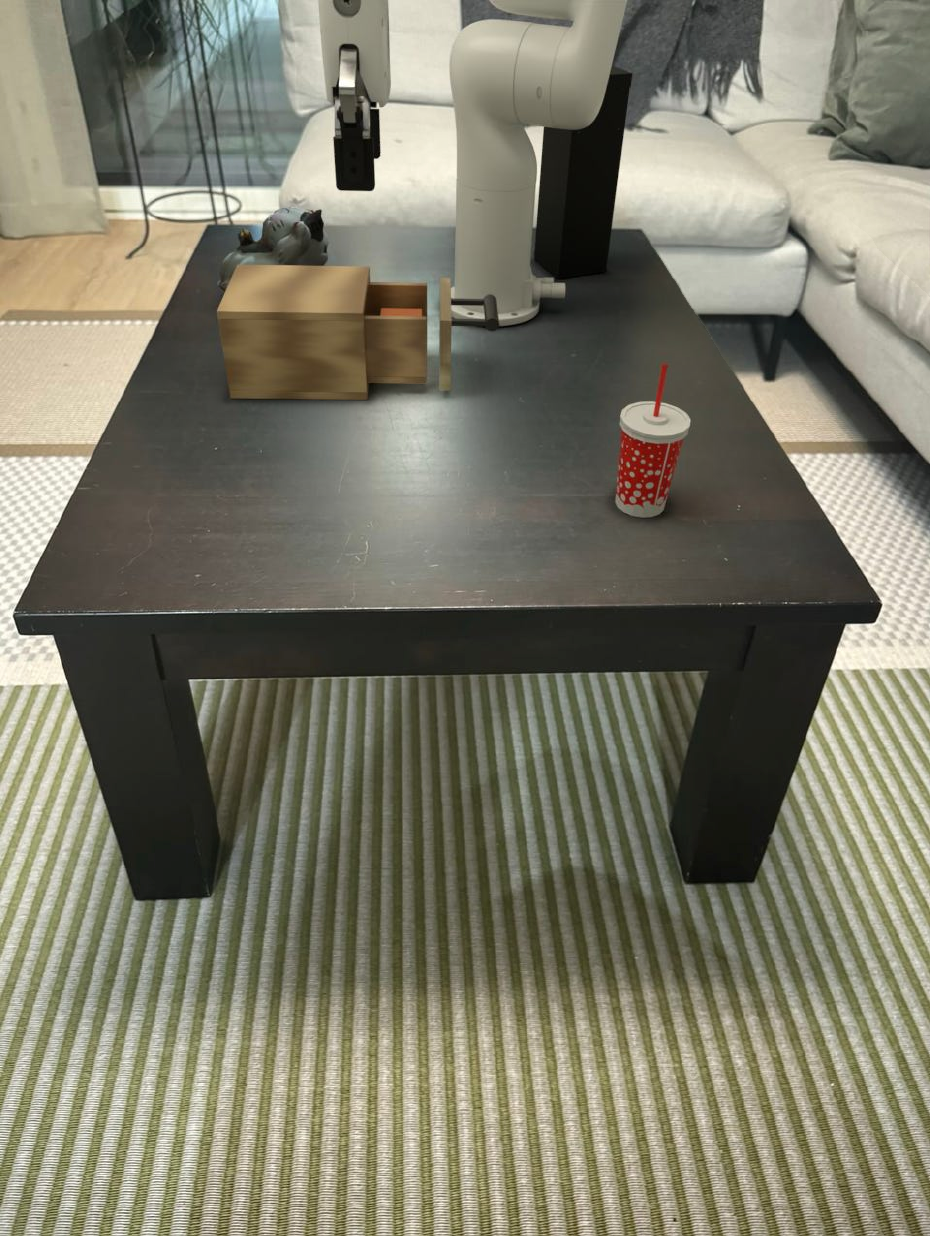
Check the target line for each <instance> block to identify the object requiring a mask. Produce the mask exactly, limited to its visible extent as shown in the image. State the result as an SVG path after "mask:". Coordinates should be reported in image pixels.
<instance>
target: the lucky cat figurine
mask: <svg viewBox="0 0 930 1236" xmlns="http://www.w3.org/2000/svg"><path fill="white" fill-rule="evenodd" d="M322 212H323V210H322V209H316V210H315V211H314V210H313V209H310V210H309V208H303V207H300V206H294V205H293V206H286V207H285V206H282V207H279V209H276V210H275V211H274V213H272V214H270V215H268V217H266V218H265V219H264V221H263V222H262V229H261V237H260V238H259V240H257V241H255V240H254V238H253V236H252V233H251V231H250V230H247V229H246V228H241V230H240V232H238V233H237V239H238V241H239V246H238V247H236V250H235V251H233V252H231V253H230V252H229V254H228V255H227V256H226V257H225V258H224V259H223V260H222V263H221V265H220V270H219V278H220V280H218V281H217V284H216V285H217V287H219V289H221V290H222V291H223V292H225V291H226V289H227V287H228V285H229V282H230V280H231V278H232V276H233V273H234V271H235V269H236V267H237V265H297V266H326V264H327V262H328V260H329V253H328V247H329V235H328V234H327V232H326V231H325V229H324V227H325V226H324V225H325V223H324V220H323V218H322Z"/></svg>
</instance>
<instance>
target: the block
mask: <svg viewBox="0 0 930 1236" xmlns="http://www.w3.org/2000/svg"><path fill="white" fill-rule="evenodd" d="M380 316H422V309H396V308H381V312H380Z"/></svg>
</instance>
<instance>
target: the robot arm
mask: <svg viewBox="0 0 930 1236" xmlns="http://www.w3.org/2000/svg"><path fill="white" fill-rule="evenodd" d="M488 1H489V2H490V4H492V5H493V6H494V8H497V9H498V10H500V11H502V12H505V13H509V14H514V15H518V16H519V15H520V16H525V17H534V18H542V19H553V20H564V21H572V22H573V23H572V25H571V26H563V25H562V26H561V25H552V24H542V23H536V22H530V21H519V20H509V19H498V18H497V19H495V18H491V19H482V20H478V21H475V22H472V23H470V24H468V25H466V26H465V27H464V28H462V29H461V30H460V32H459V33H458V34H457V36H456V37H455V39H454V41H453V43H452V46H451V50H450V54H449V63H448V64H449V68H448V69H449V70H448V71H449V82H450V89H451V95H452V102H453V103H452V104H453V110H454V111H453V112H454V118H455V119H454V120H455V132H456V133H455V134H456V178H455V179H456V182H455V183H456V184H455V186H456V187H455V190H456V191H455V240H454V241H455V242H454V244H455V245H454V251H455V252H454V285H453V286H451V298H456V299H484V297H485V296H486V295H489V294H491V295H494V296H495V297H496V301H497V309H498V317H499V327H508V326H514V325H518V324H522V323H525V322H527V321H529V320H532V319H533V318H534V317H535V316H537V314H538V313H539V311H540V300H541V298H542V299H543V298H547V299H551V300H552V299H556V300H557V299H558V300H559V299H563V300H564V299H565V297H566V282H554V281H555V277H537V276H536V275H534V274H533V271H532V267H531V258H532V246H533V245H532V244H533V243H532V242H533V232H534V231H533V229H534V228H533V227H534V217H535V202H536V187H537V176H538V164H537V156H536V152H535V148H534V146H533V143H532V142H531V139H530V137H529V135H528V133H527V130H526V129H525V127H524V125H530V126H537V127H543V128H544V127H551V128H560V129H570V130H577V129H582V128H585V127H587V126H589V125H590V124H591V123H592V122H593V121H594V119H595V118H596V116H597V114H598V112H599V110H600V107H601V105H602V102H603V99H604V95H605V91H606V87H607V83H608V79H609V75H610V71H611V67H612V65H613V63H614V58H615V54H616V50H617V46H618V41H619V37H620V32H621V28H622V24H623V21H624V16H625V11H626V8H627V4H628V0H488ZM317 2H318V14H319V16H318V17H319V18H318V19H319V31H320V41H321V42H320V43H321V44H320V45H321V54H322V55H321V56H322V66H323V76H324V86H325V93H326V99H327V102H329V103H330V104H331V105H332V106H334V136H333V138H332V141H333V154H334V155H333V157H334V173H335V187H336V189H337V190H338V191H342V192H344V191H345V192H346V191H347V192H373V191H374V190H375V187H376V176H375V175H376V174H375V173H376V171H375V160H377V159H380V157H381V153H382V152H381V150H382V149H381V125H380V124H381V123H380V121H381V119H380V108H384V107H385V106H386V105H387V104H388V103H389V100H390V95H391V87H392V76H391V75H392V73H391V48H390V46H391V45H390V42H391V41H390V12H389V9H390V8H389V0H317ZM378 106H379V108H378ZM451 316H452V319H485V317H484V306H464V305H451Z"/></svg>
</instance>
